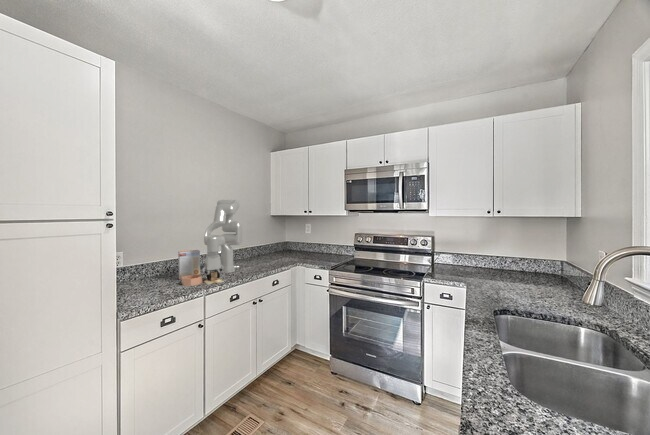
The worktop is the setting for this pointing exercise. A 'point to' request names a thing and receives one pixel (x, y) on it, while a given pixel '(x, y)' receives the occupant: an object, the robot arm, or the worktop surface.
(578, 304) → the worktop surface
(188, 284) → the bowl
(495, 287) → the worktop surface
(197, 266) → the cracker box
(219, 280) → the lid
